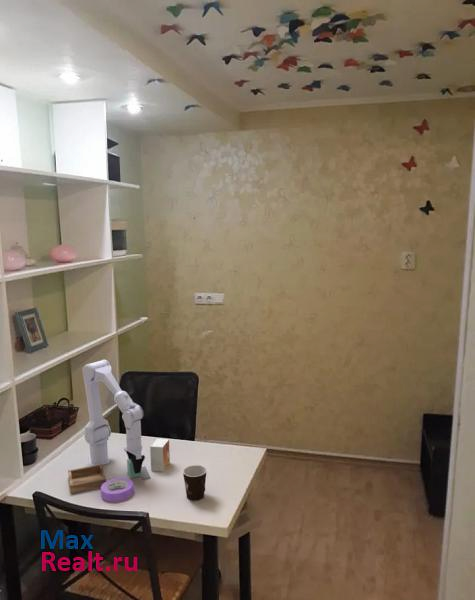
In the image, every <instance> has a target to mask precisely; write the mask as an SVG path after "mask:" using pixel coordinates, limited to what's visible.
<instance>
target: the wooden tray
mask: <svg viewBox="0 0 475 600" xmlns="http://www.w3.org/2000/svg"><path fill="white" fill-rule="evenodd" d="M67 473H68V483H69V490H70V491H69V492H70V494H71V495H72V494H76V493H83V492H87V491H92V490H96V489H97V490H98V489H101V486H102V484H103V483H105V482H106V481H107V477H106V474H104V468H103V464H100V465H95V466H85V467H79V468H74V469H68V472H67Z"/></svg>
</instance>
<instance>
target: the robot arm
mask: <svg viewBox="0 0 475 600" xmlns="http://www.w3.org/2000/svg"><path fill="white" fill-rule="evenodd" d="M112 370H113V369H112V366H111V364H110V362H109V361H108V360H107V359H101V360H98V361H95V362H90V363H86V364H85V365H84V366H83V367H82V369H81V372H82V378H83V383H84V388H85V389H84V390H85V396H86V403H87V409H88V415H89V416H88V417H89V421H88V423H87V424H86V425H85V426H84V440H85V441H86V443H87V444H88V445H89V456H88V460H89V465H90V466H95V465H100V464H102V465H106V464H107V465H108V464H110V463H111V461H110V458H109V454H108V453H109V452H108V441H109V438H110V437H111V434H112V430H111V427H110V423H109V421H108V420H107V419H105V418H104V416H103V409H102V403H101V396H100V388H99V382H102V383H104V385H105V386H106V387H107V388H108V390H109V392H111V394H112V395H113V401H114V403H115V405H116V406H117V407H118V408H119V411H120V412H121V413H122V414H121V418H122V420H123V422H124V427H125V437H126V447H124V448H123V450H124V452H126V455H127V457H128V459H131V461H132V463H133V468H134V472H135V474H137V473H140V472H141V467H143V463H144V461H145V459H146V456H145V455H144V454H142V450H143V444H142V427H141V425H142V424H141V423H142V422H141V420H142V419H143V417H144V410H143V408H142V407H141V406H140V405H139V404H138V403H135V402H134V401H133V399H132V397H130V395H129V393H128V392H127V391H125V390H122V388H121V387H120V385H119V383H118V382H117V380H116V379H115V377H114V375H113V373H112Z"/></svg>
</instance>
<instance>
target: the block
mask: <svg viewBox="0 0 475 600" xmlns="http://www.w3.org/2000/svg"><path fill="white" fill-rule="evenodd" d="M126 463H127V475H128V476H129V479H133V478H135V477H136V478H137V477H141V476H140V473H137V474H135V472H134V468H133V463H132V461H131V459H127V460H126Z"/></svg>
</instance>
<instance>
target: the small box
mask: <svg viewBox="0 0 475 600" xmlns="http://www.w3.org/2000/svg"><path fill="white" fill-rule="evenodd" d="M149 447H150V452H149V453H150V455H149V456H150V470H151V471H157V472H164V471H165V470H166V469H167V467H168V466H169V465H170V464H171V458H170V439H167V438H165V439H164V438H156V440H155V441H154V442H152V444H151V445H150V446H149Z"/></svg>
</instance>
